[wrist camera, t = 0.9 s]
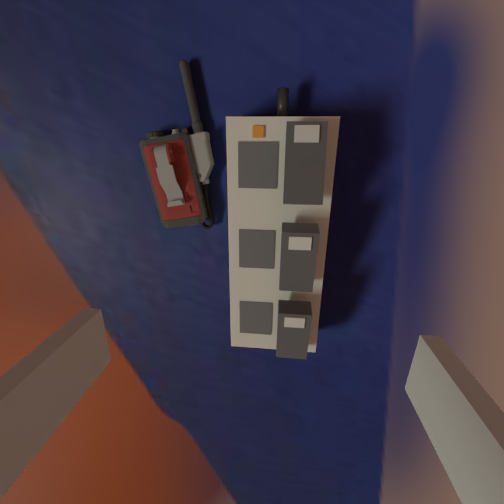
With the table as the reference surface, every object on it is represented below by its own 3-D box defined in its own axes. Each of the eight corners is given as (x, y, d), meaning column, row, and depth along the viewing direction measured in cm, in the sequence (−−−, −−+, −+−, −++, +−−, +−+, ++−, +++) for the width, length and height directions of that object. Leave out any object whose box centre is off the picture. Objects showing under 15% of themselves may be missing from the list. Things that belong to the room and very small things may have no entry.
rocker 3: (278, 299, 35) (278, 314, 33) (310, 301, 35) (312, 316, 33) (276, 342, 40) (275, 358, 37) (305, 344, 39) (306, 360, 37)
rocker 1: (286, 128, 30) (286, 120, 27) (324, 128, 30) (328, 120, 27) (282, 204, 31) (283, 203, 29) (319, 205, 31) (323, 204, 28)
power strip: (233, 93, 34) (224, 84, 29) (335, 92, 33) (344, 82, 28) (236, 325, 45) (230, 347, 40) (311, 330, 44) (315, 353, 39)
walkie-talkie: (228, 223, 40) (195, 61, 33) (222, 231, 36) (182, 48, 29) (171, 231, 41) (128, 77, 35) (158, 241, 37) (107, 68, 31)
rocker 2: (282, 222, 32) (281, 233, 30) (317, 223, 32) (320, 234, 29) (279, 278, 36) (278, 291, 34) (310, 279, 36) (312, 293, 34)
